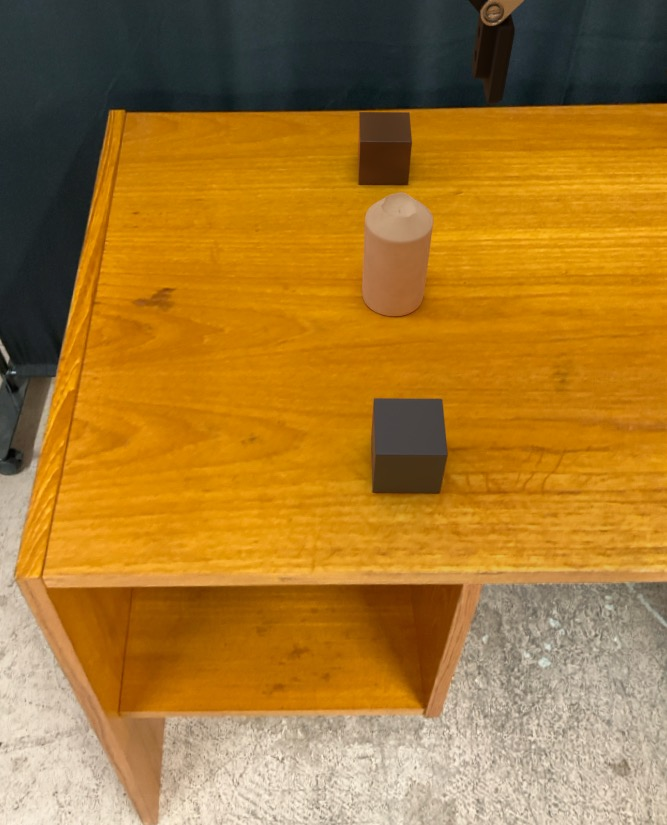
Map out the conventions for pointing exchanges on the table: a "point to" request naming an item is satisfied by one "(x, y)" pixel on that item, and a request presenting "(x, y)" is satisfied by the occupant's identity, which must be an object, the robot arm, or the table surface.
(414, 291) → the candle
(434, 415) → the near block
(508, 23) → the robot arm
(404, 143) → the far block
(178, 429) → the table surface
